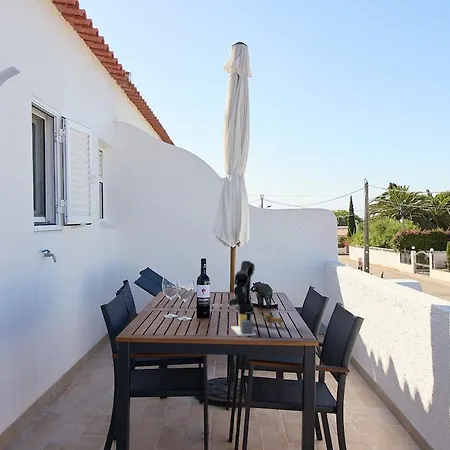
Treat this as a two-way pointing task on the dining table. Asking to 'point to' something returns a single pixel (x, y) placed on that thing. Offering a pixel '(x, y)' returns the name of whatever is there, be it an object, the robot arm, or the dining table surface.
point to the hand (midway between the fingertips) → (241, 318)
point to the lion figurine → (273, 320)
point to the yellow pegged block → (242, 318)
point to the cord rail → (238, 330)
